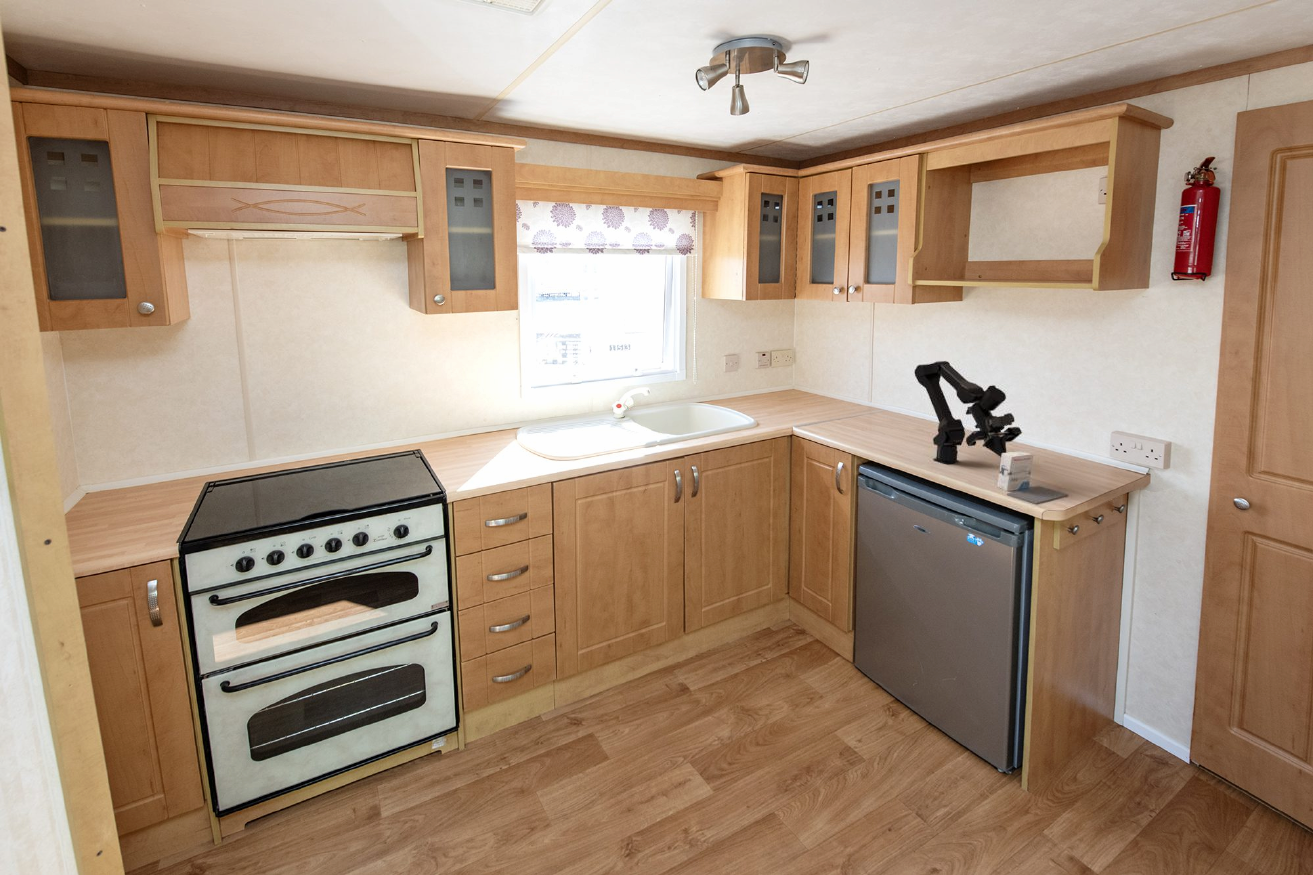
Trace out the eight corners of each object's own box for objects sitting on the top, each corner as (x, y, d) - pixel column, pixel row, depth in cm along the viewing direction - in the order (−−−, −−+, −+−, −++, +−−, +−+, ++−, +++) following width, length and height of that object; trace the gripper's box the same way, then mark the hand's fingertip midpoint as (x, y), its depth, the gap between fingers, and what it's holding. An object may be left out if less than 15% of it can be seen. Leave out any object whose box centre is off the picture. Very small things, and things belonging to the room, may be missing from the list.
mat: (1006, 494, 230) (1006, 493, 230) (1038, 487, 238) (1038, 485, 237) (1035, 504, 222) (1035, 503, 222) (1068, 495, 229) (1068, 494, 229)
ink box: (1018, 484, 240) (1022, 450, 237) (1029, 489, 236) (1034, 454, 233) (996, 487, 238) (1000, 452, 235) (1007, 491, 233) (1012, 456, 230)
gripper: (975, 407, 237) (997, 448, 230) (1020, 403, 243) (1043, 443, 235) (956, 425, 246) (976, 465, 239) (1000, 421, 252) (1021, 460, 244)
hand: (1005, 458), depth 239 cm, fingers closed
